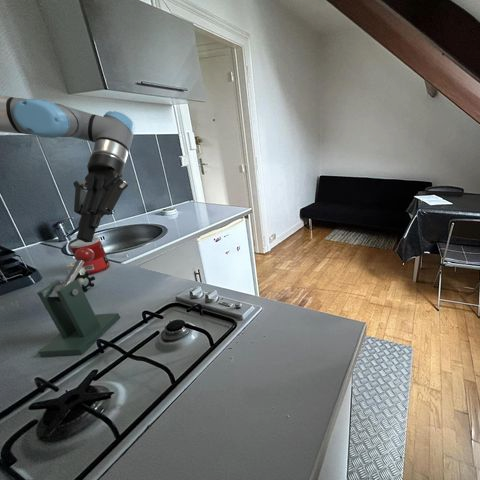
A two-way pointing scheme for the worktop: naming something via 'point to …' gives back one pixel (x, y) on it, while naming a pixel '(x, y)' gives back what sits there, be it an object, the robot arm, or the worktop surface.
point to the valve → (82, 276)
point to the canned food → (100, 258)
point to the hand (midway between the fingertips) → (84, 240)
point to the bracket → (73, 320)
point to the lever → (74, 269)
